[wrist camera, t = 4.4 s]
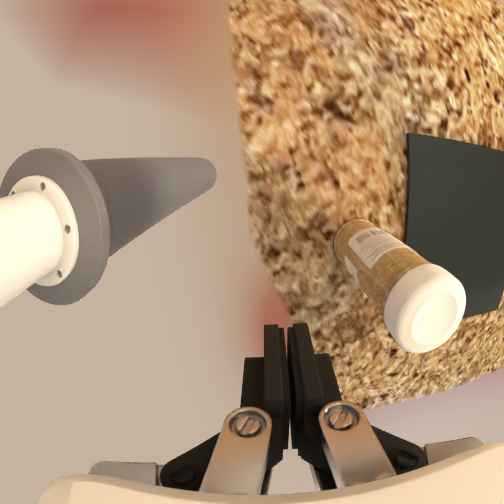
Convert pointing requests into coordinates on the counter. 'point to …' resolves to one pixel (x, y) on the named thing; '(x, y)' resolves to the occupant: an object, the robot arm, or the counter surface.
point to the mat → (458, 214)
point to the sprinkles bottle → (402, 286)
